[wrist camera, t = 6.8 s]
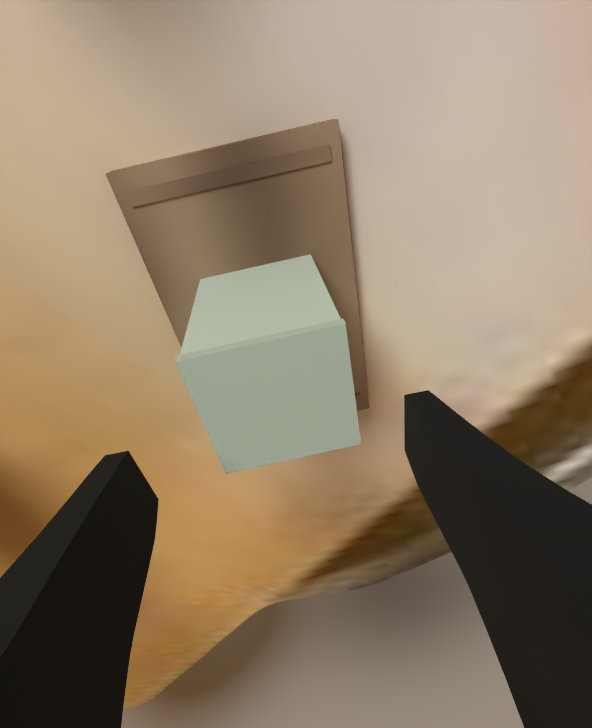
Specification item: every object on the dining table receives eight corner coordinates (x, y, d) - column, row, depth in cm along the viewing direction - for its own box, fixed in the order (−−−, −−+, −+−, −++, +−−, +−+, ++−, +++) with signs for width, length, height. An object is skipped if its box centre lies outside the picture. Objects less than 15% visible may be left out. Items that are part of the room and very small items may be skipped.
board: (223, 420, 21) (221, 441, 20) (118, 168, 14) (104, 174, 13) (362, 390, 21) (369, 409, 20) (330, 118, 14) (338, 119, 12)
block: (231, 370, 18) (225, 473, 13) (198, 278, 15) (175, 361, 10) (327, 349, 18) (361, 444, 12) (311, 252, 15) (345, 323, 10)
